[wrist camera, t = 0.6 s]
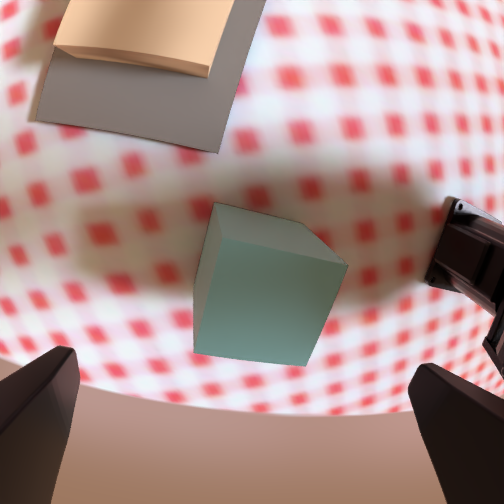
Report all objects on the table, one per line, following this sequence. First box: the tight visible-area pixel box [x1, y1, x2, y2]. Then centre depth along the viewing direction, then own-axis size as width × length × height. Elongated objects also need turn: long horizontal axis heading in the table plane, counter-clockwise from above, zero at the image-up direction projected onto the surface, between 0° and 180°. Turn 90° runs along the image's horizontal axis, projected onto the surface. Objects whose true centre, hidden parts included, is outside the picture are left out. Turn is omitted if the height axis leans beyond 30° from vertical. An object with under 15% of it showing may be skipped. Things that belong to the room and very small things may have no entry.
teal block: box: [193, 202, 348, 366], centre depth 15 cm, size 5×5×6 cm
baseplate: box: [36, 0, 266, 154], centre depth 12 cm, size 10×14×1 cm
